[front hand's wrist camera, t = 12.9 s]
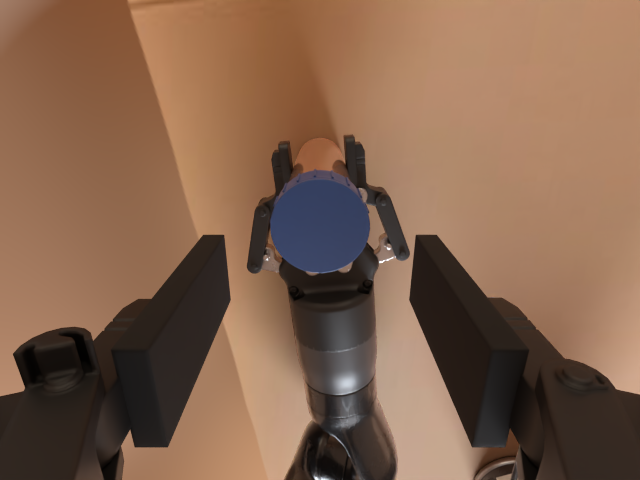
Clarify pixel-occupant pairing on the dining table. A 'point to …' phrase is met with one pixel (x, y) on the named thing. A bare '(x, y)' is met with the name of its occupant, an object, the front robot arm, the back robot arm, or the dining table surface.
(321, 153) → the tall tan cylinder
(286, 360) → the dining table surface
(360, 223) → the lid
